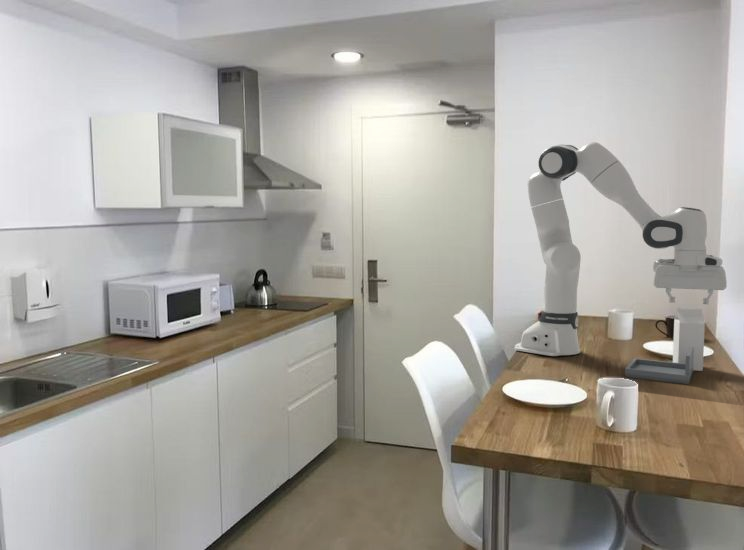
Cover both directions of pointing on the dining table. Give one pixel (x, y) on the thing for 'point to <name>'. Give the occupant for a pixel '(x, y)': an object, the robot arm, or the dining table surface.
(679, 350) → the milk carton
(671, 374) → the tray
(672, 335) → the coffee mug
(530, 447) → the dining table surface
